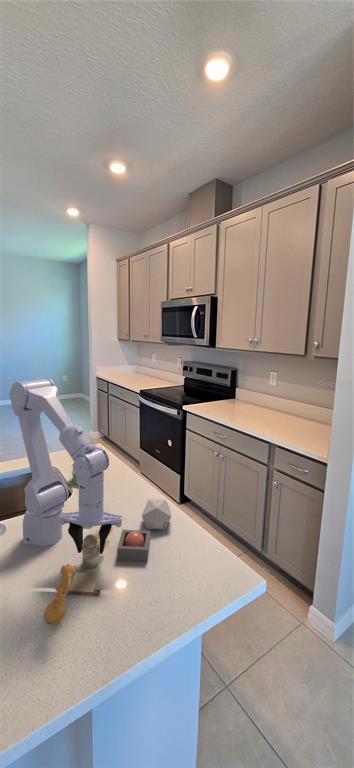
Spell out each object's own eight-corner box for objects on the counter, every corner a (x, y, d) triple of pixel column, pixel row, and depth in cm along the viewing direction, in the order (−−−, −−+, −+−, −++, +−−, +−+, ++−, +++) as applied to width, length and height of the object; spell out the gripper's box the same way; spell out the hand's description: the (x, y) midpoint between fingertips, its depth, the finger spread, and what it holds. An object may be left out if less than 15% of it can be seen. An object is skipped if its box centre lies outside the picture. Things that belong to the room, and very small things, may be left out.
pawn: (80, 568, 79) (79, 541, 77) (85, 556, 83) (84, 530, 81) (97, 569, 79) (96, 541, 77) (101, 557, 83) (100, 530, 81)
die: (159, 542, 92) (179, 511, 94) (133, 524, 93) (153, 493, 94) (160, 534, 100) (178, 505, 102) (135, 517, 101) (154, 489, 103)
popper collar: (116, 563, 82) (116, 549, 81) (121, 542, 90) (121, 529, 89) (148, 565, 82) (148, 550, 81) (150, 544, 90) (151, 530, 89)
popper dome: (123, 556, 83) (123, 538, 83) (126, 543, 88) (126, 526, 87) (143, 557, 83) (143, 539, 83) (144, 544, 88) (145, 527, 87)
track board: (62, 594, 72) (62, 591, 72) (90, 528, 96) (90, 525, 96) (98, 595, 72) (98, 592, 72) (118, 529, 96) (118, 526, 96)
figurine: (45, 606, 69) (43, 555, 67) (75, 599, 71) (74, 549, 69) (43, 642, 61) (41, 585, 59) (77, 633, 63) (76, 578, 61)
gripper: (54, 507, 74) (55, 560, 76) (118, 510, 74) (117, 563, 76) (64, 491, 81) (65, 541, 83) (123, 494, 81) (122, 543, 83)
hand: (91, 550), depth 80 cm, fingers open, 5 cm apart
